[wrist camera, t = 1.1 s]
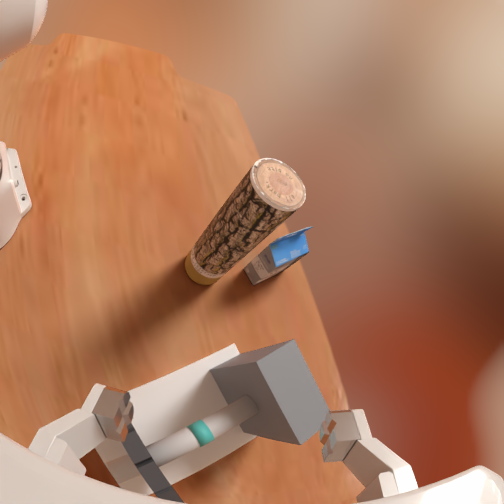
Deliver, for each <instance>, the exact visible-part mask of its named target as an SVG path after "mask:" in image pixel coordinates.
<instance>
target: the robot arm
mask: <svg viewBox="0 0 504 504" xmlns="http://www.w3.org/2000/svg"><path fill="white" fill-rule="evenodd" d="M47 4H48V0H0V62H1V61H2V60H4V59H6V58H7V57H9V56H11V55H13V54H14V53H16V52H18V51H20V50H21V49H23V48H25V47H27V46H28V45H29V44H30V42H31V41H32V40H33V38H34V37H35V35H36V34H37V32H38V30H39V29H40V27H41V25H42V22H43V20H44V17H45V14H46V10H47ZM23 199H25V200H24V201H22V200H23ZM31 206H32V203H31V200H30V197H29V193H28V190H27V187H26V184H25V180H24V177H23V173H22V169H21V165H20V161H19V157H18V154H17V151H16V150H15V149H11V148H6V145H5V143H4V142H2V141H0V248H2V247H3V246H4V245H5V244H6V243H7V242H8V241H9V240H10V238H11V237H12V235H13V234H14V232H15V230H16V228H17V226H18V224H19V222H20V220H21V218H22V217H23V216H24V215H25V214H26V213H27V212H28V211H29V210H30V209H31ZM129 400H130V394H129V392H126V391H123V390H119V389H115V388H112V387H108V386H105V385H101V384H98V383H96V384H95V385H94V386H93V387H92V389H91V391H90V393H89V395H88V396H87V398H86V400H85V402H84V404H83V406H82V407H81V409H76V410H74V411H72V412H70V413H68V414H66V415H65V416H63V417H61V418H59V419H57V420H55V421H53V422H51V423H49V424H47V425H46V426H44V427H42V428H40V429H39V430H38V432H37V434H36V436H35V437H34V439H33V441H32V443H31V445H30V446H29V448H28V449H27V448H25V447H23V446H22V445H20V444H18V443H17V442H15V441H13V440H12V439H10V438H8V437H7V436H5V435H3V434H2V433H0V504H186V503H180V502H175V501H170V500H165V499H160V498H156V497H151V496H147V495H143V494H139V493H136V492H132V491H129V490H125V489H122V488H119V487H115V486H112V485H109V484H106V483H103V482H100V481H98V480H95V479H92V478H90V477H87V476H84V475H85V472H86V468H85V467H84V465H83V464H82V463H81V462H80V460H79V459H80V458H82V457H83V456H84V455H86V454H87V453H88V452H90V451H91V450H92V449H94V448H95V447H96V446H97V445H99V444H100V443H101V442H103V441H104V440H105V439H106V438H109V439H113V440H116V441H120V442H124V441H125V438H126V435H127V433H128V429H127V425H129V424H130V423H131V422H132V419H133V414H134V407H133V404H132V403H131V402H130V401H129ZM325 419H326V420H325V421H323V422H322V424H321V426H320V442H321V443H322V444H323V445H324V447H323V449H322V454H323V460H324V462H336V461H343V463H344V464H345V465H346V466H347V468H348V469H349V470H350V471H351V472H352V473H353V474H354V475H355V476H356V478H357V479H358V480H359V481H360V482H361V483H362V484H363V485H364V486H365V487H366V488H365V489H364V490H363V491H362V492H361V493H360V494H359V495H358V496H357V503H354V504H504V481H503V479H502V478H501V477H500V476H499V475H497V474H496V473H495V472H493V471H491V470H489V469H488V468H485V467H484V466H476V467H473V468H471V469H469V470H466V471H464V472H462V473H459V474H457V475H454V476H452V477H449V478H447V479H444V480H441V481H439V482H436V483H433V484H430V485H427V486H424V487H421V488H418V486H417V483H416V480H415V477H414V474H413V471H412V468H411V466H410V465H409V464H408V463H406V462H405V461H404V460H402V459H401V458H400V457H399V456H397V455H396V454H395V453H394V452H392V451H391V450H390V449H389V448H387V447H386V446H385V445H384V444H382V443H381V442H380V441H378V440H377V439H376V438H372V435H371V432H370V429H369V426H368V422H367V419H366V417H365V413H364V411H363V410H362V409H357V410H338V411H328V412H327V413H326V415H325Z"/></svg>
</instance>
